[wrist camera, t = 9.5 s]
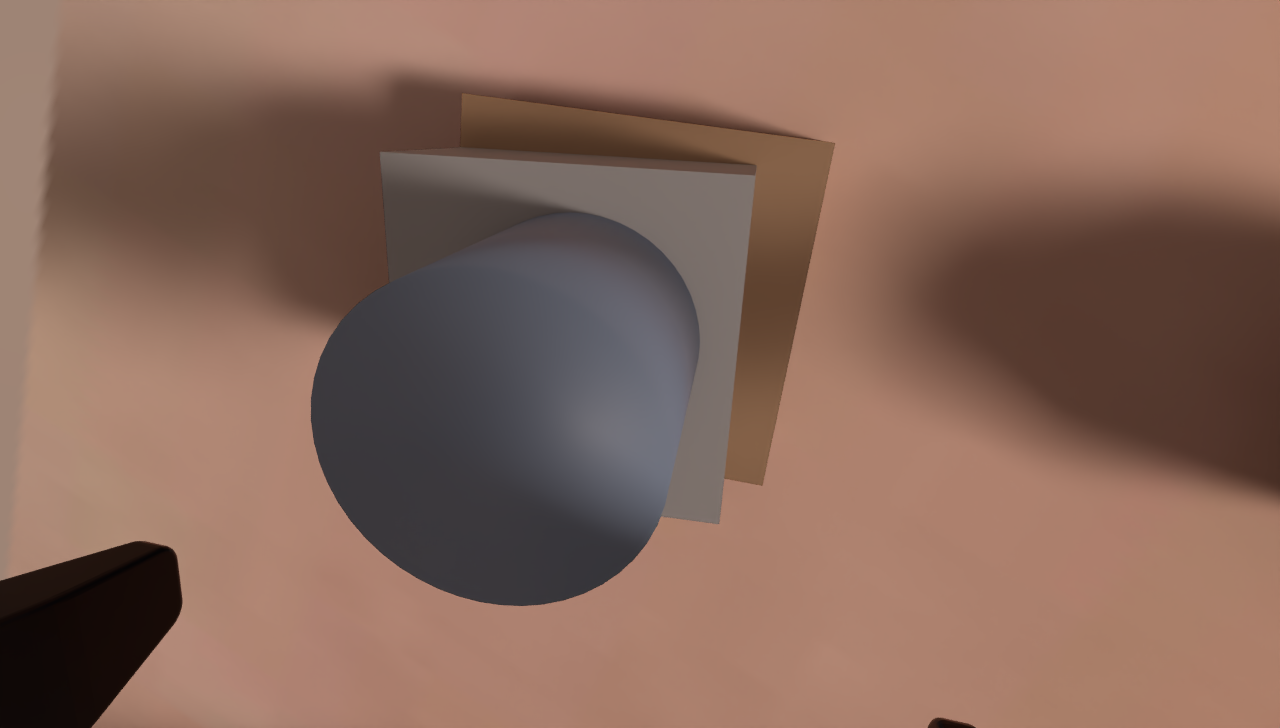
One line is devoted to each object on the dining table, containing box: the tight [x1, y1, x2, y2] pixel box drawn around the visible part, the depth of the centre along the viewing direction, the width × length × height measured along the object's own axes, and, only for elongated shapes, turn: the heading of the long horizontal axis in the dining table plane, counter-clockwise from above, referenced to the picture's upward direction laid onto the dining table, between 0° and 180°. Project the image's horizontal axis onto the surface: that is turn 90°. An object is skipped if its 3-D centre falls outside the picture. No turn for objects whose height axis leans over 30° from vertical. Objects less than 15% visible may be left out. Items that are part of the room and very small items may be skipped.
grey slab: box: [380, 147, 757, 524], centre depth 14 cm, size 6×6×4 cm
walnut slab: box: [460, 93, 835, 486], centre depth 17 cm, size 8×8×4 cm
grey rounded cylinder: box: [311, 212, 700, 606], centre depth 10 cm, size 4×4×4 cm
